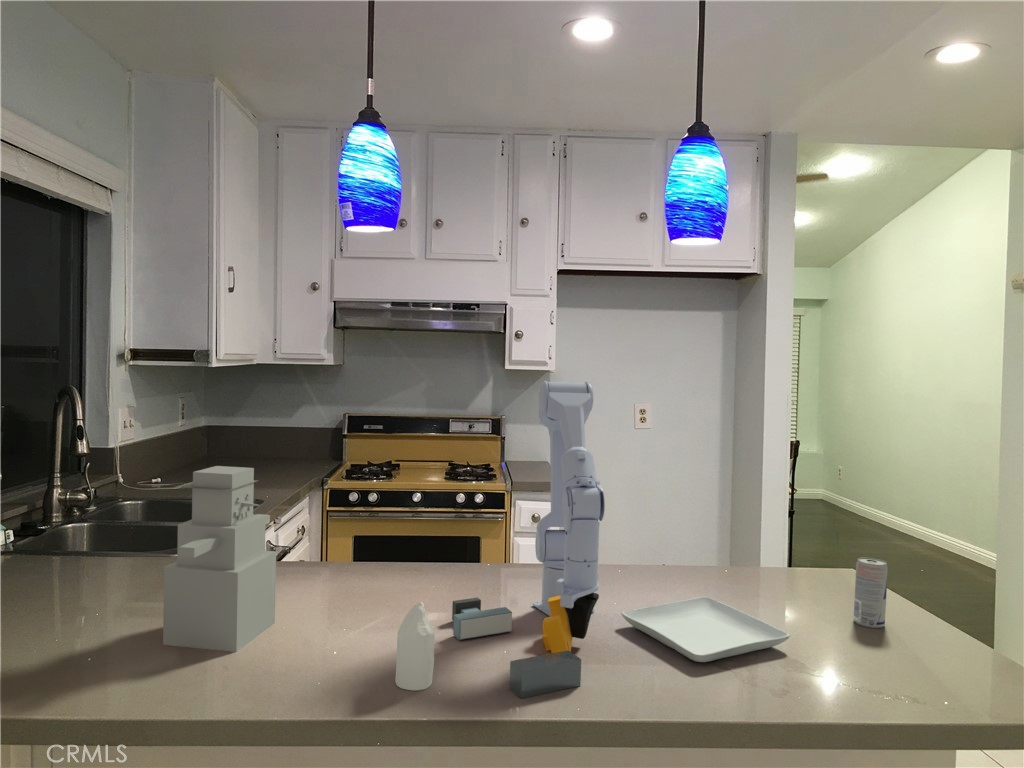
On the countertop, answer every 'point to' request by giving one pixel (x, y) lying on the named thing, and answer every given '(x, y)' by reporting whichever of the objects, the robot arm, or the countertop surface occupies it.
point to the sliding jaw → (478, 619)
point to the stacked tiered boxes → (220, 566)
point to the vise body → (545, 674)
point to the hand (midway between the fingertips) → (578, 636)
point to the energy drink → (870, 592)
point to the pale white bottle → (415, 651)
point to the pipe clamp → (557, 628)
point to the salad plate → (705, 628)
